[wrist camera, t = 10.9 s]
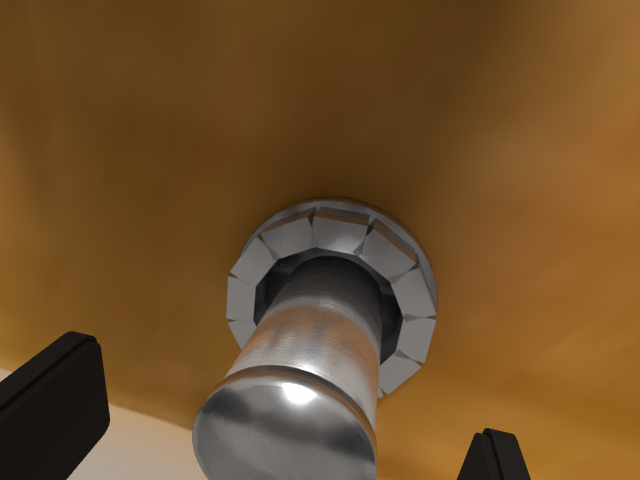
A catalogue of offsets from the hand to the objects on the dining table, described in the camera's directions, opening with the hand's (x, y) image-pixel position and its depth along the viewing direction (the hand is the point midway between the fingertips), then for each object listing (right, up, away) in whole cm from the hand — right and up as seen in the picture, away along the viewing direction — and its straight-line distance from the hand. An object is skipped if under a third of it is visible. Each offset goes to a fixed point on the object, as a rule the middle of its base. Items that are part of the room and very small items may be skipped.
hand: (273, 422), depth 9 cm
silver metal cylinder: (+2, +2, +7) cm, 8 cm away
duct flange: (+2, +2, +8) cm, 9 cm away
